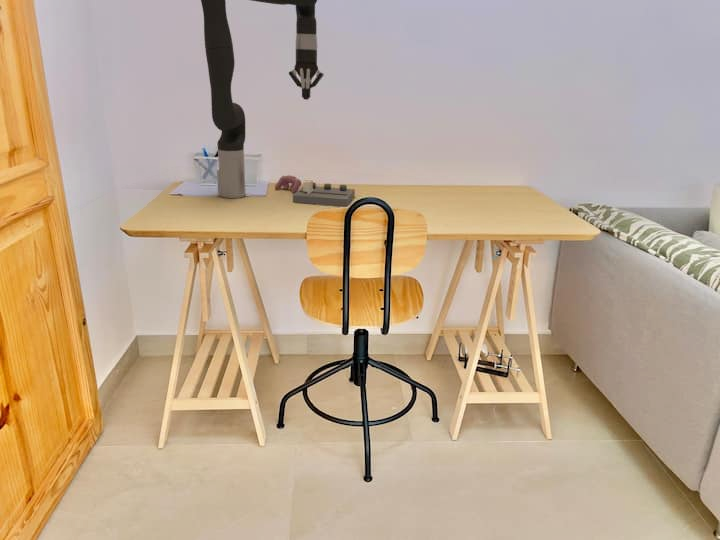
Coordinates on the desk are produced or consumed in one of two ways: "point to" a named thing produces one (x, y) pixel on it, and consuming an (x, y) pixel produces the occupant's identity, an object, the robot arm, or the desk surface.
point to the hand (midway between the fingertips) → (306, 99)
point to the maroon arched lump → (285, 182)
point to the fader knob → (307, 185)
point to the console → (325, 195)
